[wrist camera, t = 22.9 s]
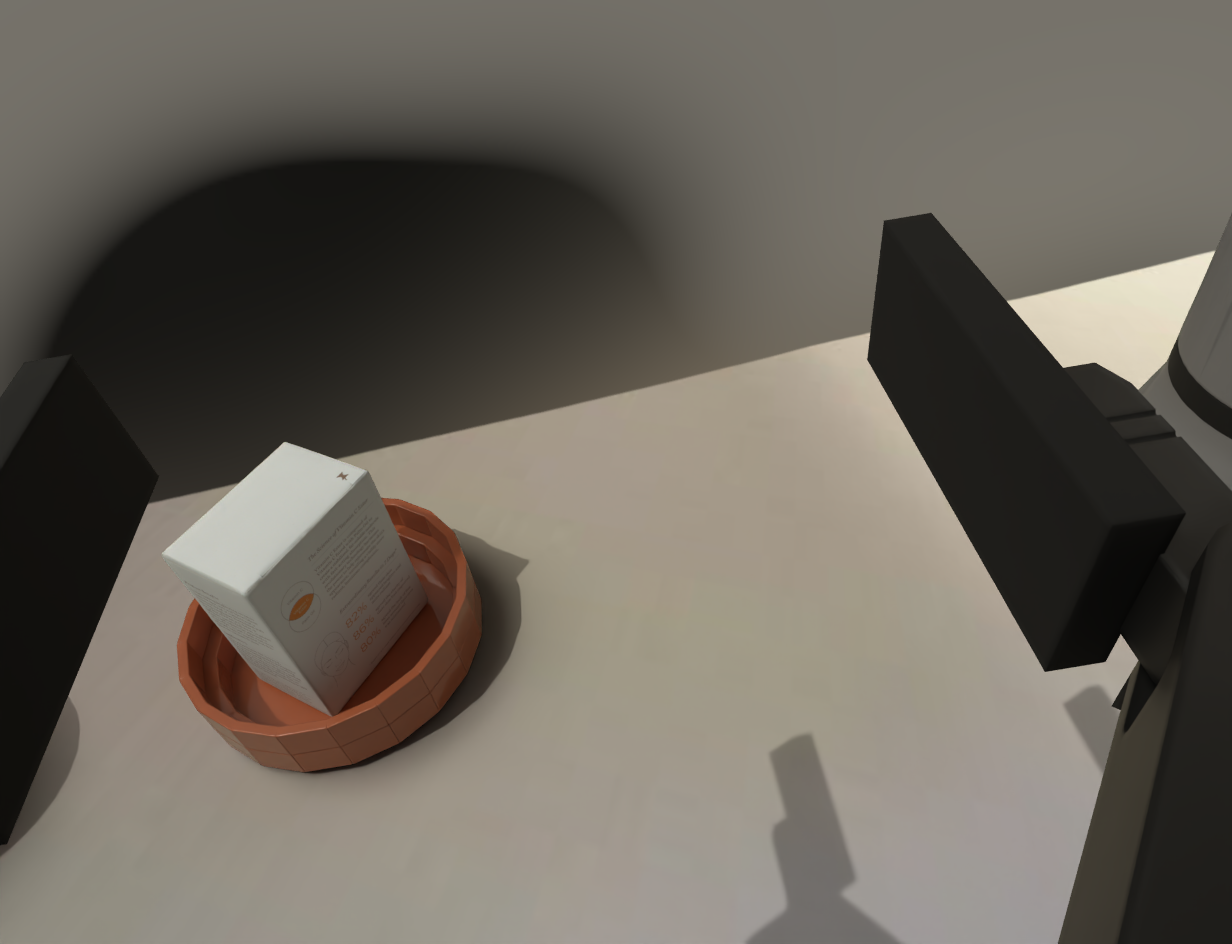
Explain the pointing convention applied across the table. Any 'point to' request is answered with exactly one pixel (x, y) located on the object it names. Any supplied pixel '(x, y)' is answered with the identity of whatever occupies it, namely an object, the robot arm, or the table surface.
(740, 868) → the table surface
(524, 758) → the table surface
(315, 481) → the small box
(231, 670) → the bowl
